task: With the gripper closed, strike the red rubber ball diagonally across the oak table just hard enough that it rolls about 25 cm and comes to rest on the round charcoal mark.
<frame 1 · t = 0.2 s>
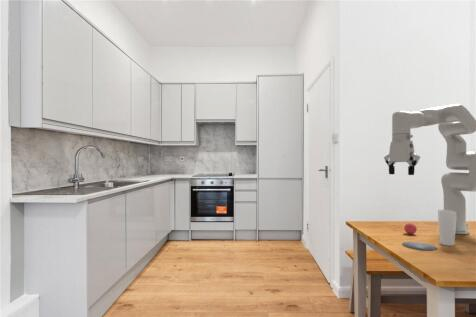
hand: (401, 174, 139), 31 cm above the table, tool pointing down, fingers open, 9 cm apart
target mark: (419, 246, 129), on the table
drinking glass: (447, 245, 132), on the table
ball: (410, 228, 152), on the table
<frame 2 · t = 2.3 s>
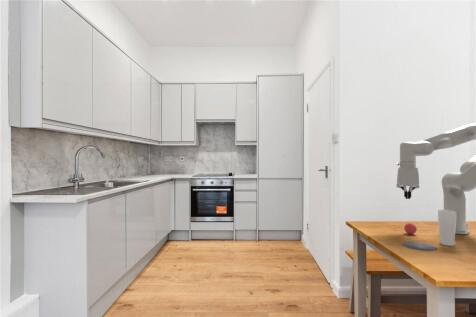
hand: (407, 198, 161), 17 cm above the table, tool pointing down, fingers closed
nothing on the table moved.
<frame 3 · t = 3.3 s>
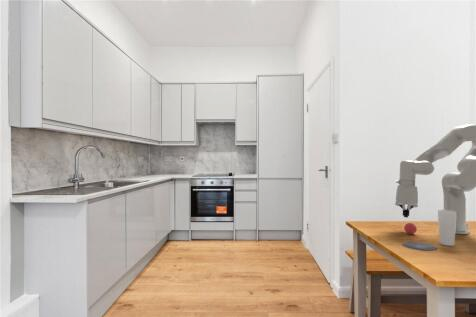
hand: (405, 217, 161), 7 cm above the table, tool pointing down, fingers closed
nothing on the table moved.
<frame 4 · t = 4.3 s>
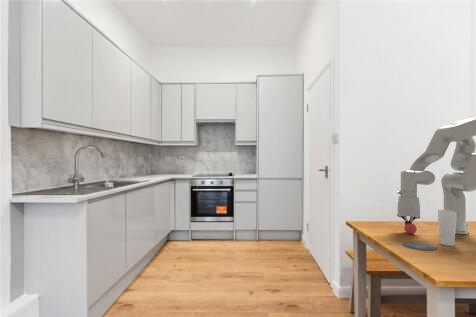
hand: (408, 228, 156), 2 cm above the table, tool pointing down, fingers closed
ball: (410, 228, 152), on the table, touching gripper
everything else where it was.
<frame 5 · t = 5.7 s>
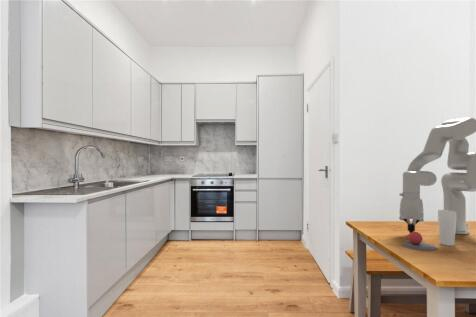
hand: (411, 232, 150), 2 cm above the table, tool pointing down, fingers closed
ball: (415, 237, 133), on the table
everything else where it was.
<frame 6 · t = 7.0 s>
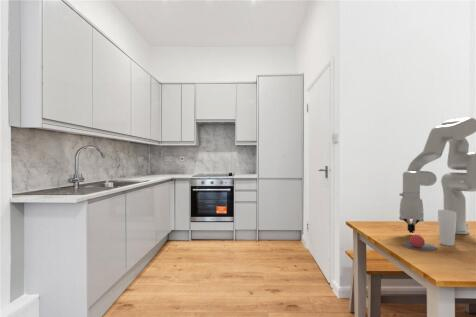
hand: (411, 232, 150), 2 cm above the table, tool pointing down, fingers closed
ball: (416, 241, 127), on the table
everything else where it was.
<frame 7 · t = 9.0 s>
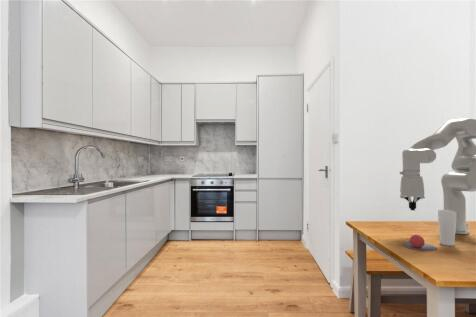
hand: (412, 209, 150), 13 cm above the table, tool pointing down, fingers closed
nothing on the table moved.
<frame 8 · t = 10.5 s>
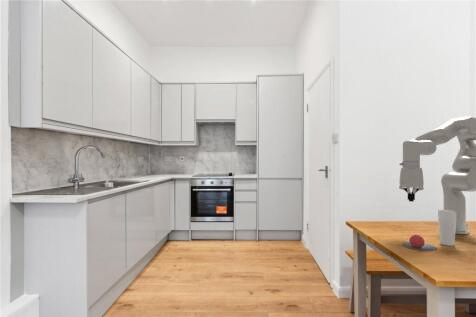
hand: (411, 201, 150), 17 cm above the table, tool pointing down, fingers closed
nothing on the table moved.
at the end: ball 3.7 cm from the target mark (horizontally); ball at rest at the end (0.0 cm/s); ball moved 28.5 cm from its start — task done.
